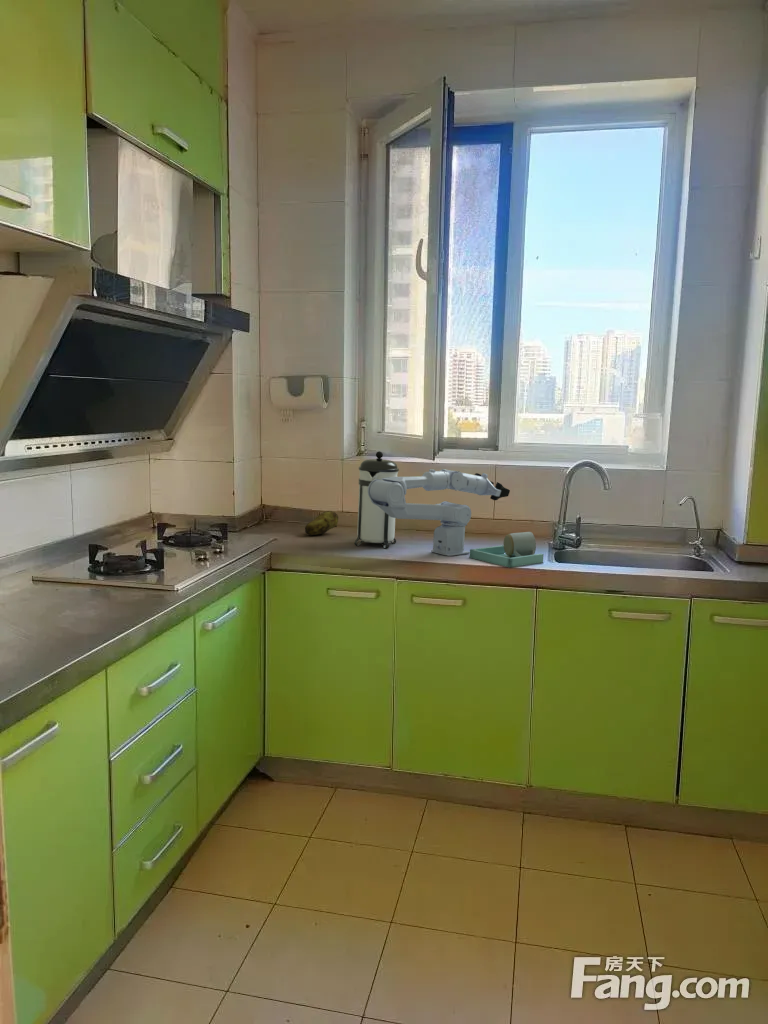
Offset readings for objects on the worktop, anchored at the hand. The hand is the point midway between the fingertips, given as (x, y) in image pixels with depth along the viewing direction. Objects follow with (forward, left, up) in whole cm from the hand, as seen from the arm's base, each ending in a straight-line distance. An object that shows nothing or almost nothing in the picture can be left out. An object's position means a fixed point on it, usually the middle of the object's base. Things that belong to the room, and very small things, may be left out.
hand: (500, 489), depth 249 cm
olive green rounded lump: (-38, +46, -20) cm, 62 cm away
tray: (-13, -15, -19) cm, 28 cm away
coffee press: (-32, +24, -19) cm, 44 cm away
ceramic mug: (-6, -15, -19) cm, 26 cm away
